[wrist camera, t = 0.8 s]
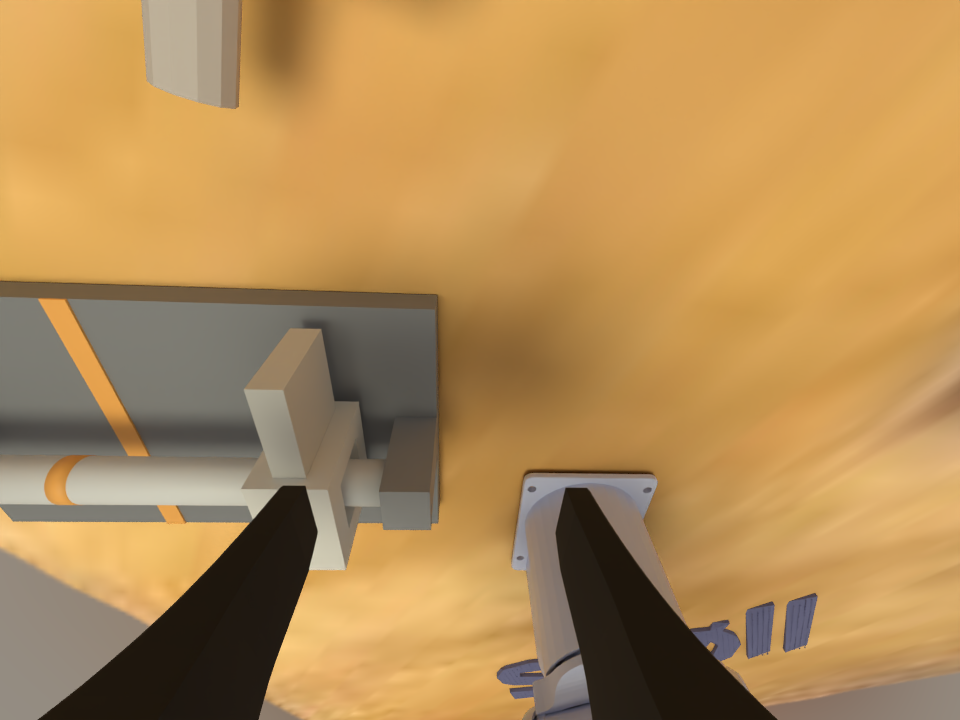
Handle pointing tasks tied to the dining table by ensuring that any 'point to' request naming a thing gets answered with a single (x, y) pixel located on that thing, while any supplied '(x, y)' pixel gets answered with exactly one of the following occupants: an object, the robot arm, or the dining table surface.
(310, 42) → the dining table surface
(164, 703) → the robot arm
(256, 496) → the collar
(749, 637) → the signage
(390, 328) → the pipe board
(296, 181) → the dining table surface
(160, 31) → the pipe connector
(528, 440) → the dining table surface
